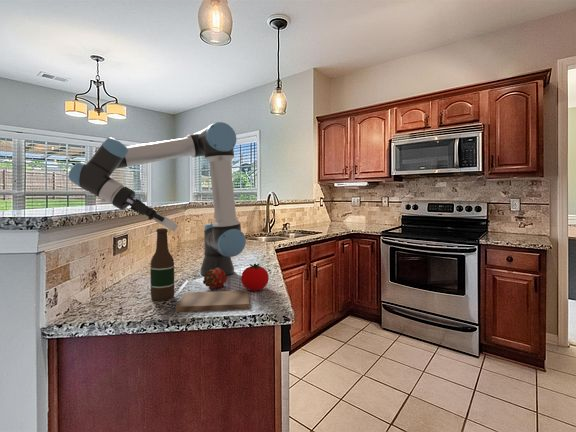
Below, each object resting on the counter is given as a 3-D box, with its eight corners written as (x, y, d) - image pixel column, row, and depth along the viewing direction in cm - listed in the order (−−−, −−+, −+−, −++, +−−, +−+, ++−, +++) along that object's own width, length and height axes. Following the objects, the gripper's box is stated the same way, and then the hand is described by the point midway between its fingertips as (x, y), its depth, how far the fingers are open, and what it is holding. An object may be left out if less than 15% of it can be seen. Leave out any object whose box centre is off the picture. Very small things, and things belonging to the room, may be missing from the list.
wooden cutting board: (176, 311, 92) (176, 306, 92) (184, 296, 106) (184, 292, 106) (248, 308, 96) (248, 303, 96) (247, 294, 109) (247, 290, 109)
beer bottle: (171, 300, 102) (171, 229, 100) (147, 301, 100) (146, 229, 99) (176, 293, 109) (176, 227, 108) (153, 294, 108) (153, 227, 107)
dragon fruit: (208, 297, 111) (216, 292, 123) (227, 283, 111) (234, 279, 123) (195, 277, 111) (205, 274, 123) (214, 264, 112) (222, 262, 124)
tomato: (235, 291, 112) (235, 265, 112) (250, 284, 122) (250, 260, 121) (260, 296, 108) (260, 268, 108) (273, 288, 118) (273, 262, 117)
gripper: (121, 209, 114) (171, 237, 118) (99, 198, 90) (164, 234, 94) (132, 192, 116) (182, 221, 120) (115, 177, 92) (178, 214, 96)
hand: (174, 227), depth 107 cm, fingers open, 13 cm apart
